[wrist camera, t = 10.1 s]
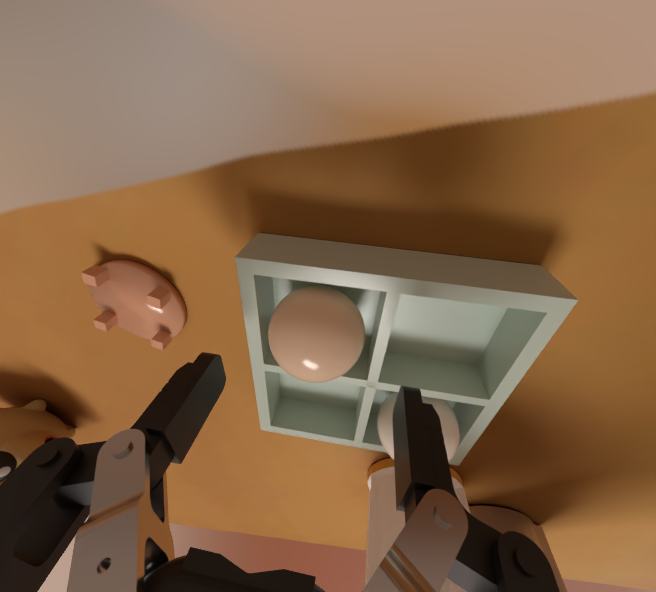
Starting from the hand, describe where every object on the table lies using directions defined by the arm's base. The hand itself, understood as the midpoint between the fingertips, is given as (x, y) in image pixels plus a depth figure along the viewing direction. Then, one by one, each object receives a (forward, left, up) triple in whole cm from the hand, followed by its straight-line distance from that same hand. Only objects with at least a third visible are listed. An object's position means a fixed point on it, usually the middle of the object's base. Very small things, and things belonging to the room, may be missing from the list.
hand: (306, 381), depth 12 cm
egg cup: (+12, +5, -6) cm, 14 cm away
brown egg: (0, 0, -5) cm, 5 cm away
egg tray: (-4, +2, -6) cm, 7 cm away
